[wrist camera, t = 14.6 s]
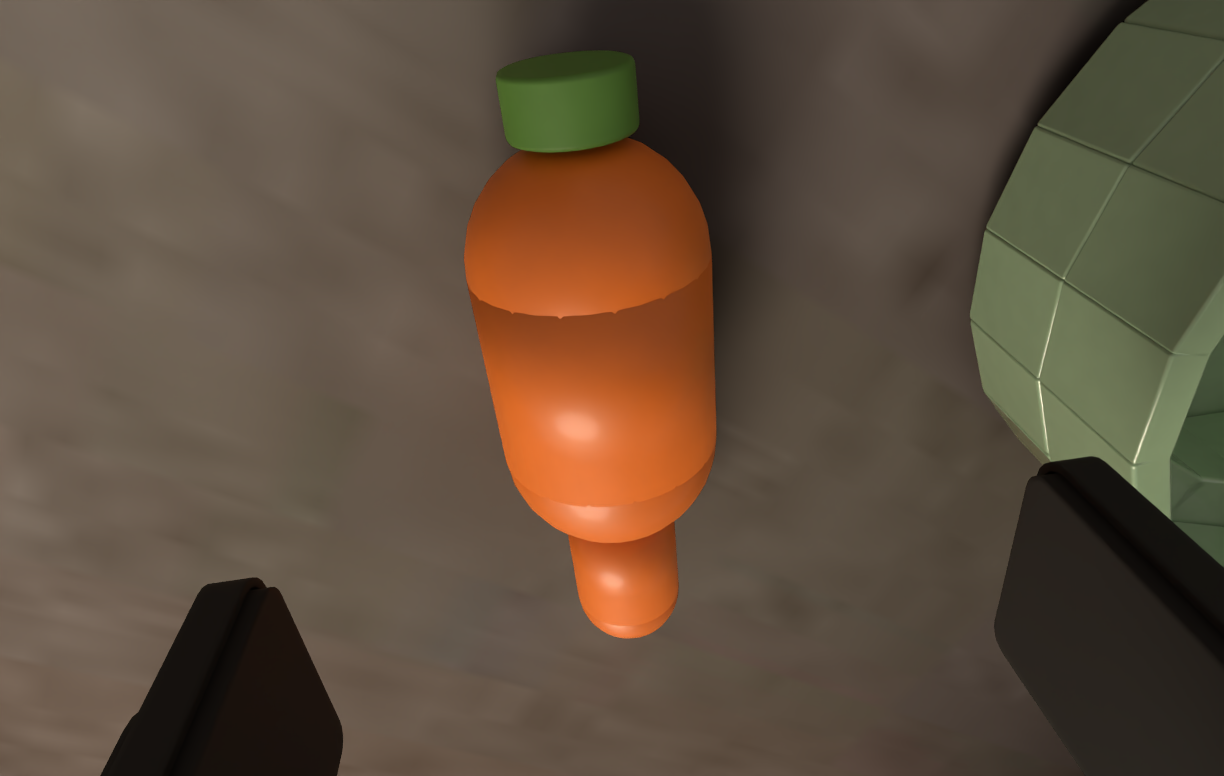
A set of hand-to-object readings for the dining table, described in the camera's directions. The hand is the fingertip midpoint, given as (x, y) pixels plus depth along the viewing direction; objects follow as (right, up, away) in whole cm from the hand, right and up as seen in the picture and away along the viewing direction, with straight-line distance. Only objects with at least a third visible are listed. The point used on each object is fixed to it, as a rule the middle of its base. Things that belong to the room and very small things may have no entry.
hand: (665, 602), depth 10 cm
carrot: (-1, +4, +6) cm, 7 cm away
